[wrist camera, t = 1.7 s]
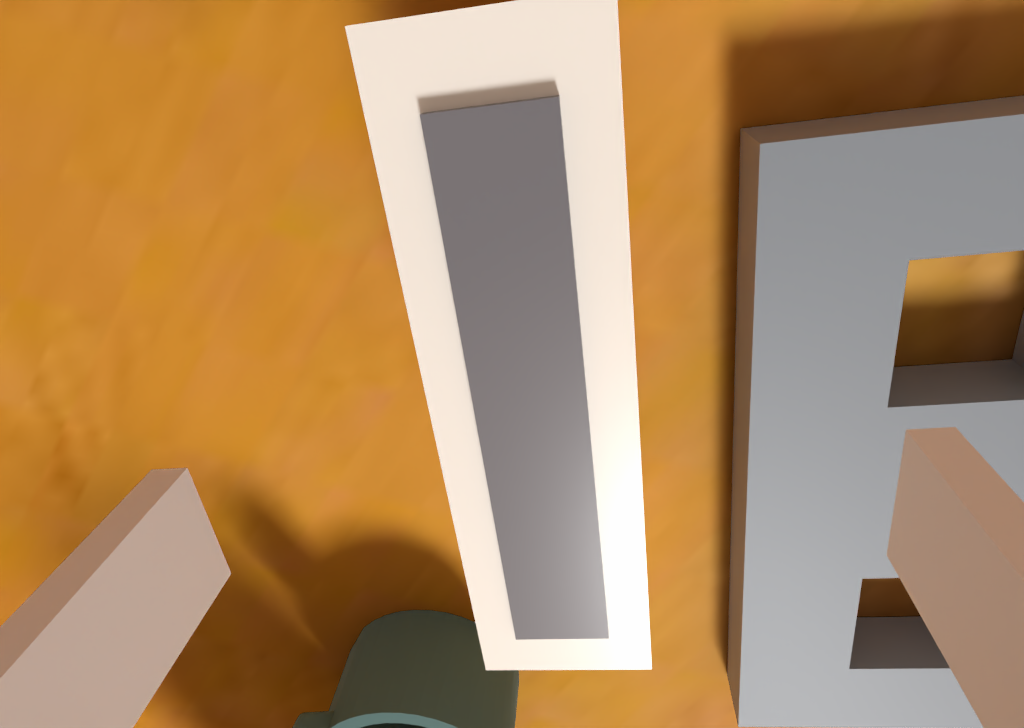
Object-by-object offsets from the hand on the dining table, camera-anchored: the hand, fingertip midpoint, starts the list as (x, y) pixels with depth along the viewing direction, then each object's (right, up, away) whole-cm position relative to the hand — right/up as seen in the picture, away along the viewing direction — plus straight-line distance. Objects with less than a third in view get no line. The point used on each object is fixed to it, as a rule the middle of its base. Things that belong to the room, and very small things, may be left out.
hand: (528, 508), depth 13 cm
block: (+1, +6, +10) cm, 11 cm away
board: (+14, 0, +12) cm, 19 cm away
